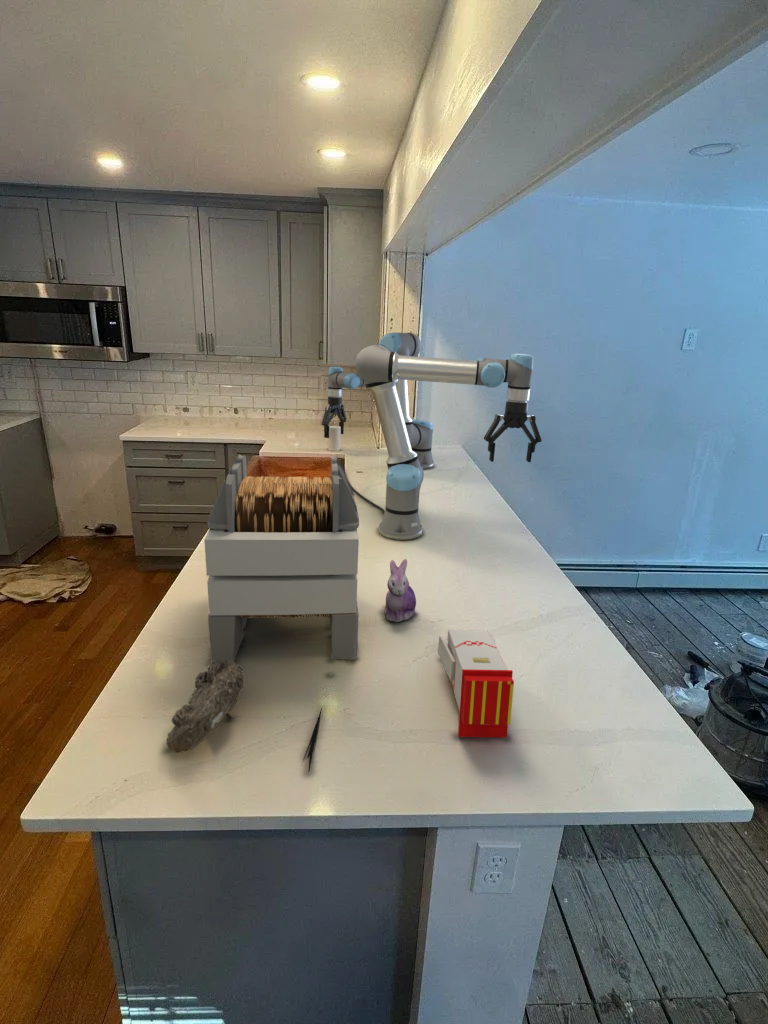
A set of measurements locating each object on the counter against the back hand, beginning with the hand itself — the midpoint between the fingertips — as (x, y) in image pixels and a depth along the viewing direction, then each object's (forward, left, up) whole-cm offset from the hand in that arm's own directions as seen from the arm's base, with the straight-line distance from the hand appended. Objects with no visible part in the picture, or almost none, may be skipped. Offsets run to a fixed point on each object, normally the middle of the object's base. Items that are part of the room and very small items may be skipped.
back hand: (334, 435), depth 310 cm
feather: (+184, +116, -8) cm, 218 cm away
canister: (0, 0, -8) cm, 8 cm away
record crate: (+159, +90, -8) cm, 183 cm away
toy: (+161, +138, -8) cm, 212 cm away
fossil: (+194, +99, -8) cm, 218 cm away
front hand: (+64, +115, +18) cm, 133 cm away
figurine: (+140, +111, -8) cm, 179 cm away
